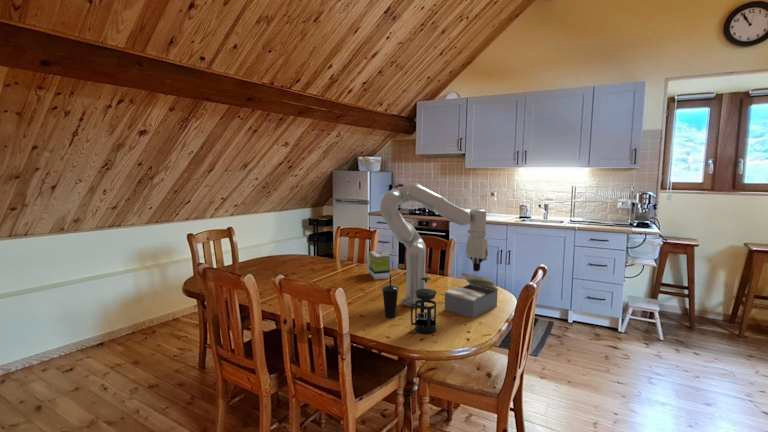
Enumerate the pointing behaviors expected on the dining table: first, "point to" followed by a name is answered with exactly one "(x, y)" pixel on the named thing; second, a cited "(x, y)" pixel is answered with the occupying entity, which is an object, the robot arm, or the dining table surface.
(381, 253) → the tea box
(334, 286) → the dining table surface
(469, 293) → the near flap
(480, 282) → the far flap
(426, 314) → the french press
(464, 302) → the storage box
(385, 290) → the drinking cup
